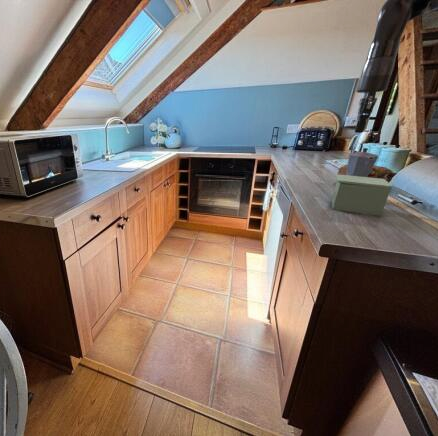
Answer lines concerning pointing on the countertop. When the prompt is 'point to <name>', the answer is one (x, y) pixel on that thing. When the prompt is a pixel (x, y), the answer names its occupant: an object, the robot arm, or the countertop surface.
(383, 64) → the robot arm
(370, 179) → the bin lid
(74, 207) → the countertop surface
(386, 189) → the bin
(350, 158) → the moka pot
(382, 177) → the bread
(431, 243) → the countertop surface
